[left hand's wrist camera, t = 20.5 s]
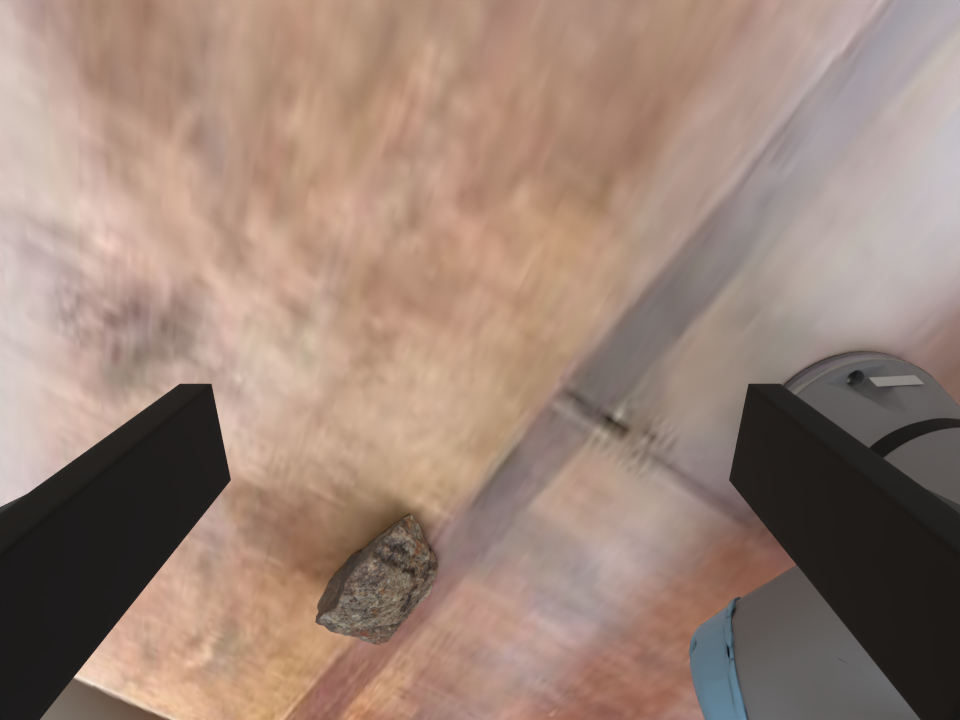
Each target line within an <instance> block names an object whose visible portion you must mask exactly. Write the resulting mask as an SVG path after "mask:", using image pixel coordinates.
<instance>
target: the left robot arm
mask: <svg viewBox="0 0 960 720" xmlns="http://www.w3.org/2000/svg"><path fill="white" fill-rule="evenodd" d="M230 480H231V479H230V474H229V469H228V464H227V459H226V454H225V449H224V444H223V439H222V434H221V429H220V424H219V419H218V414H217V409H216V404H215V399H214V394H213V389H212V384H179V385H178V386H176V387H175V388H174V389H172V390H171V391H169V392H168V393H167V394H165V395H164V396H162V397H161V398H160V399H158V400H157V401H156V402H154V403H153V404H151V405H150V406H149V407H147V408H146V409H144V410H143V411H142V412H140V413H139V414H137V415H136V416H135V417H133V418H132V419H131V420H129V421H128V422H126V423H125V424H124V425H122V426H121V427H119V428H118V429H117V430H115V431H114V432H113V433H111V434H110V435H108V436H107V437H106V438H104V439H103V440H101V441H100V442H99V443H97V444H96V445H94V446H93V447H92V448H90V449H89V450H88V451H86V452H85V453H83V454H82V455H81V456H79V457H78V458H76V459H75V460H74V461H72V462H71V463H69V464H68V465H67V466H65V467H64V468H63V469H61V470H60V471H58V472H57V473H56V474H54V475H53V476H51V477H50V478H49V479H47V480H46V481H45V482H43V483H42V484H40V485H39V486H38V487H36V488H35V489H33V490H32V491H31V492H29V493H28V494H26V495H24V496H22V497H20V498H18V499H16V500H14V501H12V502H10V503H8V504H6V505H4V506H1V507H0V720H40V719H41V717H42V716H43V715H44V714H45V712H46V711H47V710H48V709H49V707H50V706H51V705H52V704H53V702H54V701H55V700H56V699H57V697H58V696H59V695H60V694H61V692H62V691H63V690H64V689H65V687H66V686H67V685H68V684H69V682H70V681H71V680H72V679H73V677H74V676H75V675H76V674H77V672H78V671H79V670H80V669H81V667H82V666H83V665H84V663H85V662H86V661H87V660H88V658H89V657H90V656H91V655H92V653H93V652H94V651H95V650H96V648H97V647H98V646H99V645H100V643H101V642H102V641H103V640H104V638H105V637H106V636H107V635H108V633H109V632H110V631H111V630H112V628H113V627H114V626H115V625H116V623H117V622H118V621H119V620H120V618H121V617H122V616H123V615H124V613H125V612H126V611H127V610H128V608H129V607H130V606H131V605H132V603H133V602H134V601H135V600H136V598H137V597H138V596H139V595H140V593H141V592H142V591H143V590H144V588H145V587H146V586H147V585H148V583H149V582H150V581H151V579H152V578H153V577H154V576H155V574H156V573H157V572H158V571H159V569H160V568H161V567H162V566H163V564H164V563H165V562H166V561H167V559H168V558H169V557H170V556H171V554H172V553H173V552H174V551H175V549H176V548H177V547H178V546H179V544H180V543H181V542H182V541H183V539H184V538H185V537H186V536H187V534H188V533H189V532H190V531H191V529H192V528H193V527H194V526H195V524H196V523H197V522H198V521H199V519H200V518H201V517H202V516H203V514H204V513H205V512H206V511H207V509H208V508H209V507H210V506H211V504H212V503H213V502H214V501H215V499H216V498H217V497H218V496H219V494H220V493H221V492H222V490H223V489H224V488H225V487H226V485H227V484H228V483H229V482H230ZM729 480H730V482H731V483H732V484H733V485H734V487H735V488H736V489H737V490H738V492H739V493H740V494H741V496H742V497H743V498H744V499H745V501H746V502H747V503H748V504H749V506H750V507H751V508H752V509H753V511H754V512H755V513H756V514H757V516H758V517H759V518H760V519H761V521H762V522H763V523H764V524H765V526H766V527H767V528H768V529H769V531H770V532H771V533H772V534H773V536H774V537H775V538H776V539H777V541H778V542H779V543H780V544H781V546H782V547H783V548H784V549H785V551H786V552H787V553H788V554H789V556H790V557H791V558H792V559H793V561H794V562H795V563H796V564H797V565H796V566H795V567H793V568H791V569H790V570H788V571H786V572H785V573H783V574H781V575H780V576H778V577H776V578H774V579H773V580H771V581H769V582H768V583H766V584H764V585H763V586H761V587H759V588H758V589H756V590H754V591H753V592H751V593H749V594H747V595H746V596H744V597H742V598H740V597H737V598H735V599H733V600H732V601H730V603H729V605H728V606H727V607H726V608H725V609H723V610H722V611H720V612H719V613H717V614H716V615H715V616H713V617H712V618H710V619H709V620H707V621H706V622H704V623H703V624H701V625H700V626H699V627H698V628H697V629H696V631H695V632H694V634H693V636H692V639H691V642H690V649H689V654H690V669H691V675H692V679H693V684H694V687H695V691H696V695H697V698H698V701H699V704H700V707H701V710H702V713H703V715H704V718H705V720H960V406H959V405H958V404H957V403H956V402H955V401H954V399H953V398H952V397H951V396H950V395H949V394H948V393H947V392H946V391H945V389H944V388H943V387H942V386H941V385H940V384H939V383H938V382H937V381H936V380H935V379H934V378H933V377H932V376H931V375H930V374H928V373H927V372H926V371H924V370H923V369H921V368H919V367H917V366H915V365H913V364H911V363H908V362H906V361H904V360H902V359H900V358H897V357H895V356H892V355H889V354H884V353H879V352H853V353H847V354H842V355H838V356H834V357H831V358H829V359H826V360H823V361H821V362H819V363H816V364H814V365H813V366H811V367H809V368H807V369H806V370H804V371H802V372H801V373H799V374H798V375H797V376H795V377H794V378H793V379H791V380H790V381H789V382H788V383H787V384H786V385H785V386H782V385H781V384H748V389H747V394H746V399H745V404H744V409H743V414H742V419H741V424H740V429H739V434H738V439H737V444H736V449H735V454H734V459H733V464H732V469H731V474H730V479H729Z"/></svg>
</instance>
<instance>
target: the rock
mask: <svg viewBox="0 0 960 720" xmlns="http://www.w3.org/2000/svg"><path fill="white" fill-rule="evenodd" d="M437 573H438V565H437V562H436V557H435V555H434V553H433V551H432V550H431V549H430V548H429V546H428V545H427V543H426V540H425V538H424V537H423V535H422V531H421V529H420V525H419V524H418V523H417V522H416V520H415V519H414V518H413V516H412V514H407V515H406V516H405V517H404V518H402V519H401V520H400V521H398V522H397V523H395V524H393V525H392V526H391V527H390V528H389V529H387V530H386V531H384V532H383V533H381V534H380V535H379V536H378V537H377V538H376V539H374V540H372V541H371V542H370V543H369V545H368V546H367V547H366V548H364V549H363V550H362V551H358V552H356V553H354V554H352V555H351V556H350V557H349V559H348V560H347V561H346V562H345V564H344V565H343V566H342V567H341V569H340V570H339V571H338V572H336V573H335V575H334V576H333V577H332V578H331V579H330V581H329V583H328V586H327V588H326V590H325V592H324V594H323V595H322V597H321V599H320V600H319V602H318V606H317V608H318V611H319V612H318V614H317V616H316V621H315V622H316V623H317V624H319V625H323V626H325V627H326V628H327V629H328V630H329V631H331V632H335V633H339V634H342V635H345V636H352V637H358V638H360V639H361V640H363V641H366V642H370V643H373V644H376V645H380V644H382V643H385V642H388V641H389V640H390V639H391V638H392V636H393V635H394V633H395V632H396V631H397V629H398V627H399V626H401V624H402V623H403V622H404V621H405V620H406V619H407V618H408V616H409V614H412V613H413V612H414V611H415V610H416V609H417V608H418V606H419V604H420V603H421V602H423V601H424V600H425V599H426V598H427V597H428V596H429V594H430V592H431V588H432V583H433V580H434V579H435V577H436V574H437Z"/></svg>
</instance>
